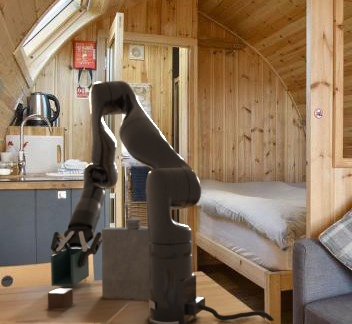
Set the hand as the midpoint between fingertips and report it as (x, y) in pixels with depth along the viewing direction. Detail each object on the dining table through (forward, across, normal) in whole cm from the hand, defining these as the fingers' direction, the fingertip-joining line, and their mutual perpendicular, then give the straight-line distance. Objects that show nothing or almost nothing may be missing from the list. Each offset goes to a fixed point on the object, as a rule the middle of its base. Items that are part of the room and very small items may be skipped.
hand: (68, 265), depth 125 cm
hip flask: (+10, +20, -1) cm, 23 cm away
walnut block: (+13, +6, -7) cm, 15 cm away
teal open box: (+2, 0, +4) cm, 5 cm away
